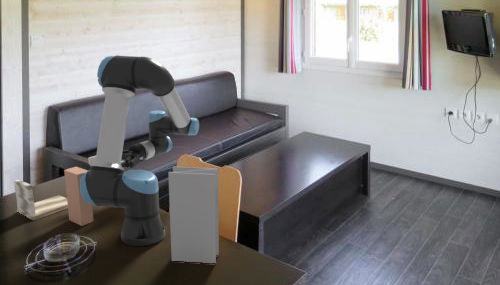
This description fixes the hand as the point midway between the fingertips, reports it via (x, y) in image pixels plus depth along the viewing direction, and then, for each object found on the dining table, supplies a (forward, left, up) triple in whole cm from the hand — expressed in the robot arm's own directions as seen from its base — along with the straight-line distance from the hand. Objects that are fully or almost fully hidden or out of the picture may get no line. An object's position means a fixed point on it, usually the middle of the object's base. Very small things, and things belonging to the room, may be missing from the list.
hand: (99, 164), depth 185 cm
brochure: (-57, +7, -18) cm, 60 cm away
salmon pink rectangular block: (-4, +13, -18) cm, 22 cm away
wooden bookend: (+16, +15, -18) cm, 28 cm away
